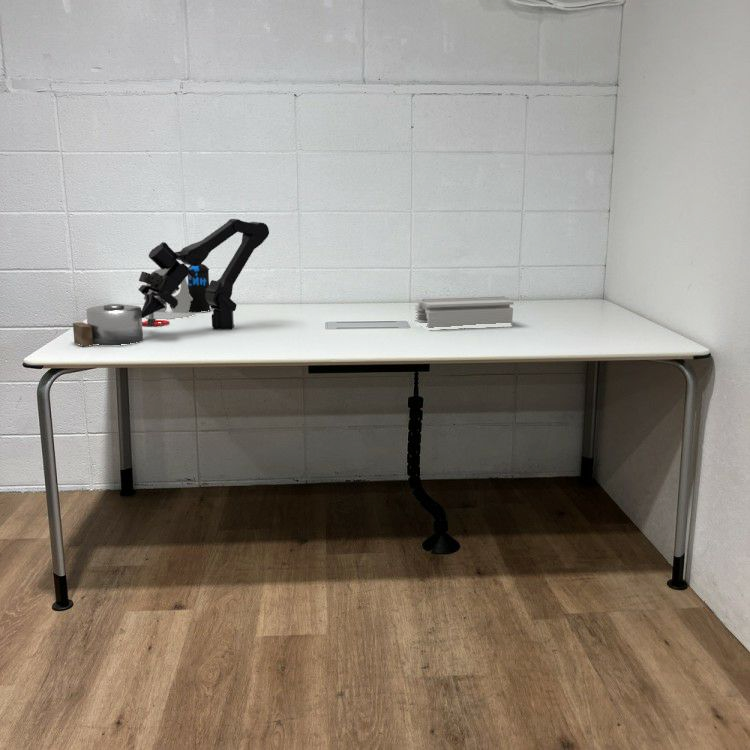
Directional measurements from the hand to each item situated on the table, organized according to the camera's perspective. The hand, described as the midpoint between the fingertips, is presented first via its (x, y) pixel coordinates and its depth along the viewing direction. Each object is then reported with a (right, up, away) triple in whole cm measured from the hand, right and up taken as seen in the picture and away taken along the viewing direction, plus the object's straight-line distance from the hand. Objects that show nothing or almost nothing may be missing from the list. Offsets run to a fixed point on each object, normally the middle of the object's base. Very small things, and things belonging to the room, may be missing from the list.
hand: (140, 316), depth 250 cm
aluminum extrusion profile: (+104, -1, +28) cm, 108 cm away
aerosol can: (+7, +6, +52) cm, 53 cm away
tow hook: (-2, -1, +24) cm, 24 cm away
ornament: (-4, +3, +40) cm, 40 cm away
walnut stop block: (-15, -9, -9) cm, 19 cm away
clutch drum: (-7, -8, -3) cm, 11 cm away
